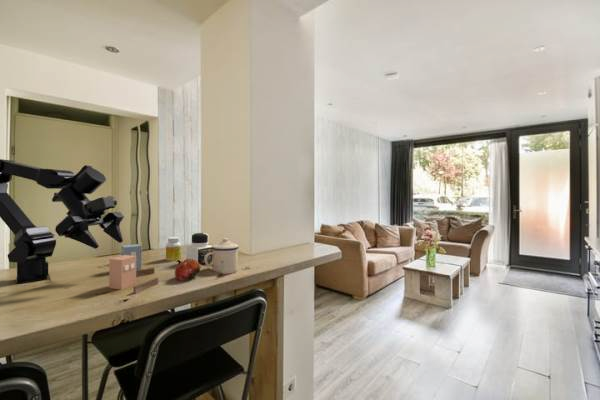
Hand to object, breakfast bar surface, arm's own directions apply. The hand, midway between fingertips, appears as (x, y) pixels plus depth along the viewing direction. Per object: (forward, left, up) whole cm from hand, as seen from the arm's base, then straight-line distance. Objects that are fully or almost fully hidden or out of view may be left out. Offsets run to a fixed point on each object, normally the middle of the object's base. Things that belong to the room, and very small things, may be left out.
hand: (110, 244), depth 82 cm
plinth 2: (+3, -10, -12) cm, 16 cm away
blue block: (+8, +9, -11) cm, 16 cm away
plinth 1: (+8, +5, -12) cm, 15 cm away
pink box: (+1, -8, -11) cm, 13 cm away
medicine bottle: (+30, +4, -12) cm, 33 cm away
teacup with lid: (+31, -10, -12) cm, 35 cm away
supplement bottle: (+24, +14, -12) cm, 30 cm away
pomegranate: (+18, -13, -12) cm, 25 cm away
